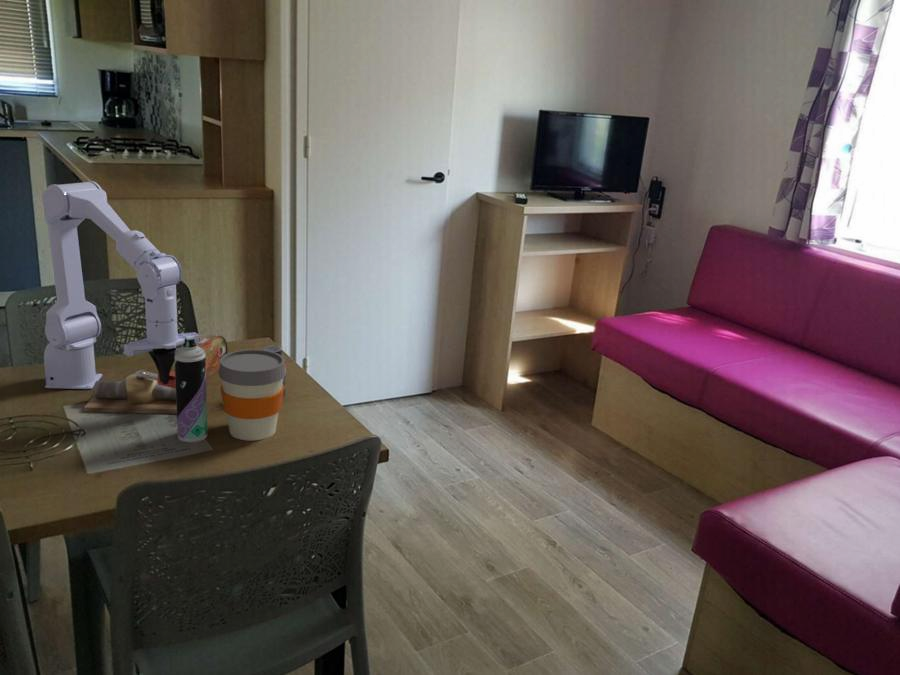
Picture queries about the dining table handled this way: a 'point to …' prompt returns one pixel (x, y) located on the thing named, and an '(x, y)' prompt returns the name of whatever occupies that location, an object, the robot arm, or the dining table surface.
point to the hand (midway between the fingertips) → (164, 382)
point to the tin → (213, 352)
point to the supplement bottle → (278, 351)
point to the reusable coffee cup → (252, 392)
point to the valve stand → (132, 397)
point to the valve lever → (157, 377)
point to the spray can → (191, 392)
